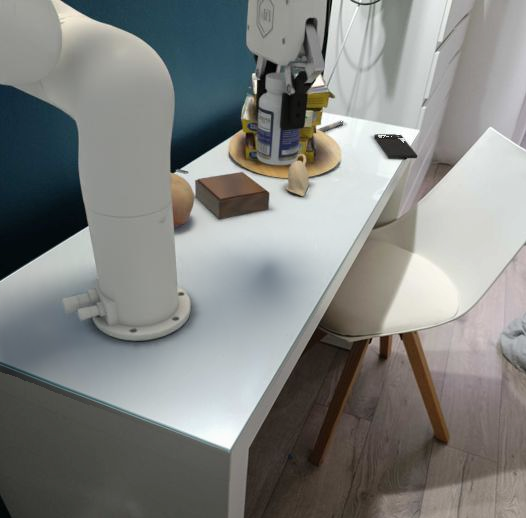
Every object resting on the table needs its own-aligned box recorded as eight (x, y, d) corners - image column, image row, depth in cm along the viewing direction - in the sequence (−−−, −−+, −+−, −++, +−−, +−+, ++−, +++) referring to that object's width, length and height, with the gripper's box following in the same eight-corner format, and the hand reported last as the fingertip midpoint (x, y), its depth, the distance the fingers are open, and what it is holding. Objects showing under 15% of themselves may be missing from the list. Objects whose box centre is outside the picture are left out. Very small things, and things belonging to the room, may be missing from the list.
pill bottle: (298, 153, 68) (306, 73, 61) (295, 168, 63) (304, 83, 57) (258, 149, 68) (263, 69, 61) (253, 164, 64) (257, 79, 57)
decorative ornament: (282, 194, 97) (284, 166, 93) (292, 178, 103) (295, 152, 99) (303, 197, 96) (306, 170, 93) (311, 181, 102) (315, 155, 99)
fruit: (138, 227, 83) (133, 180, 78) (162, 208, 89) (158, 163, 84) (182, 237, 81) (179, 190, 76) (202, 217, 87) (202, 172, 82)
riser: (219, 219, 87) (219, 200, 85) (195, 196, 94) (194, 178, 91) (268, 209, 91) (269, 190, 89) (242, 188, 98) (243, 170, 95)
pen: (345, 118, 133) (340, 120, 134) (316, 129, 124) (312, 131, 125) (346, 122, 133) (341, 124, 134) (318, 133, 124) (313, 135, 125)
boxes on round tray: (335, 184, 102) (350, 95, 91) (217, 169, 104) (217, 80, 93) (342, 145, 120) (354, 67, 110) (241, 133, 123) (243, 55, 112)
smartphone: (417, 158, 116) (400, 137, 127) (418, 154, 115) (400, 132, 126) (388, 158, 115) (373, 137, 127) (389, 154, 115) (374, 132, 126)
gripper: (224, -74, 55) (223, 104, 67) (306, -65, 44) (288, 147, 55) (283, -70, 58) (272, 100, 70) (374, -61, 47) (343, 139, 58)
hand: (279, 119), depth 62 cm, fingers closed on pill bottle, 5 cm apart
